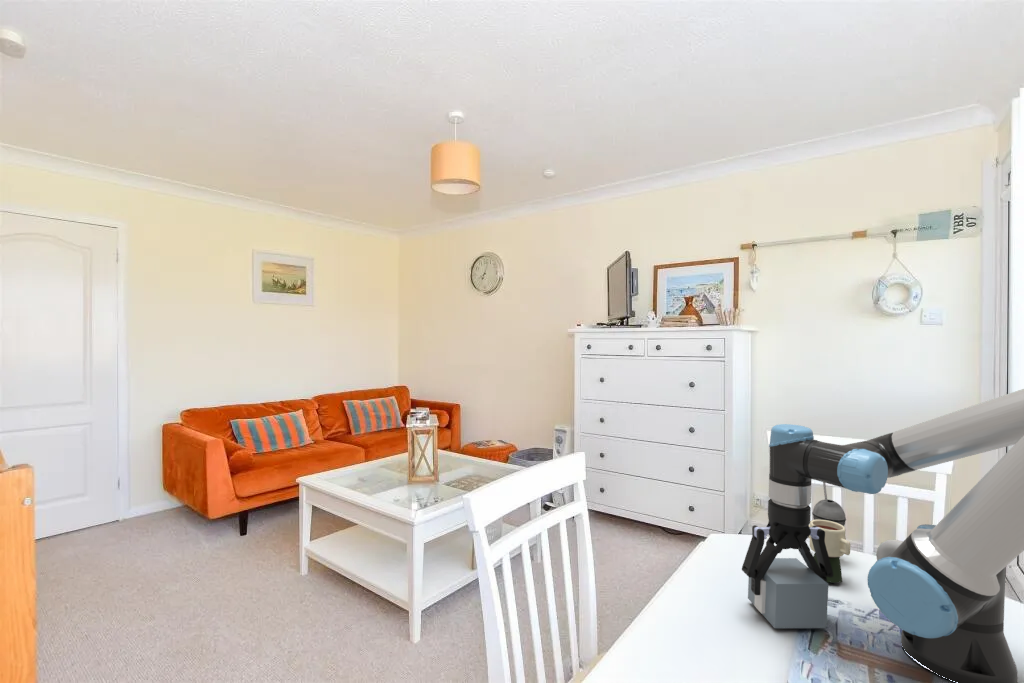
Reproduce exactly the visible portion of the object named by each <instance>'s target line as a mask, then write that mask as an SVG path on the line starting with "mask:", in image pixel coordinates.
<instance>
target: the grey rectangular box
mask: <svg viewBox="0 0 1024 683" xmlns="http://www.w3.org/2000/svg"><path fill="white" fill-rule="evenodd" d="M763 579H764V580H765V581H766V598H765V613H761V614H762V616H763V617H764V618H765V619H766V620H767V621H768V623H770V625H771V626H772V627H773V629H827V627H828V625H827V624H828V622H827V621H828V607H829V606H828V604H829V603H828V601H829V582H825V581H824V580H823V579H822V578H820V577H819V576H818V575H817V574H815V573H814V572H813V571H812V570H810V569H809V568H808V566H807V565H805V564H804V563H803V562H802V561H801V560H799V559H798V558H796V557H788V558H787V557H781V558H780V557H775V559H774V561H773V562H772V564H771V565H770V567H769V569H768V570H767V572H766V573H765V575H764V577H763ZM747 587H748V588H747V599H748V601H749V602H751V603H752V604H753V605H754V602H755V594H754V593H753V592H752V590H751V578H750V577H748V586H747Z"/></svg>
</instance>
